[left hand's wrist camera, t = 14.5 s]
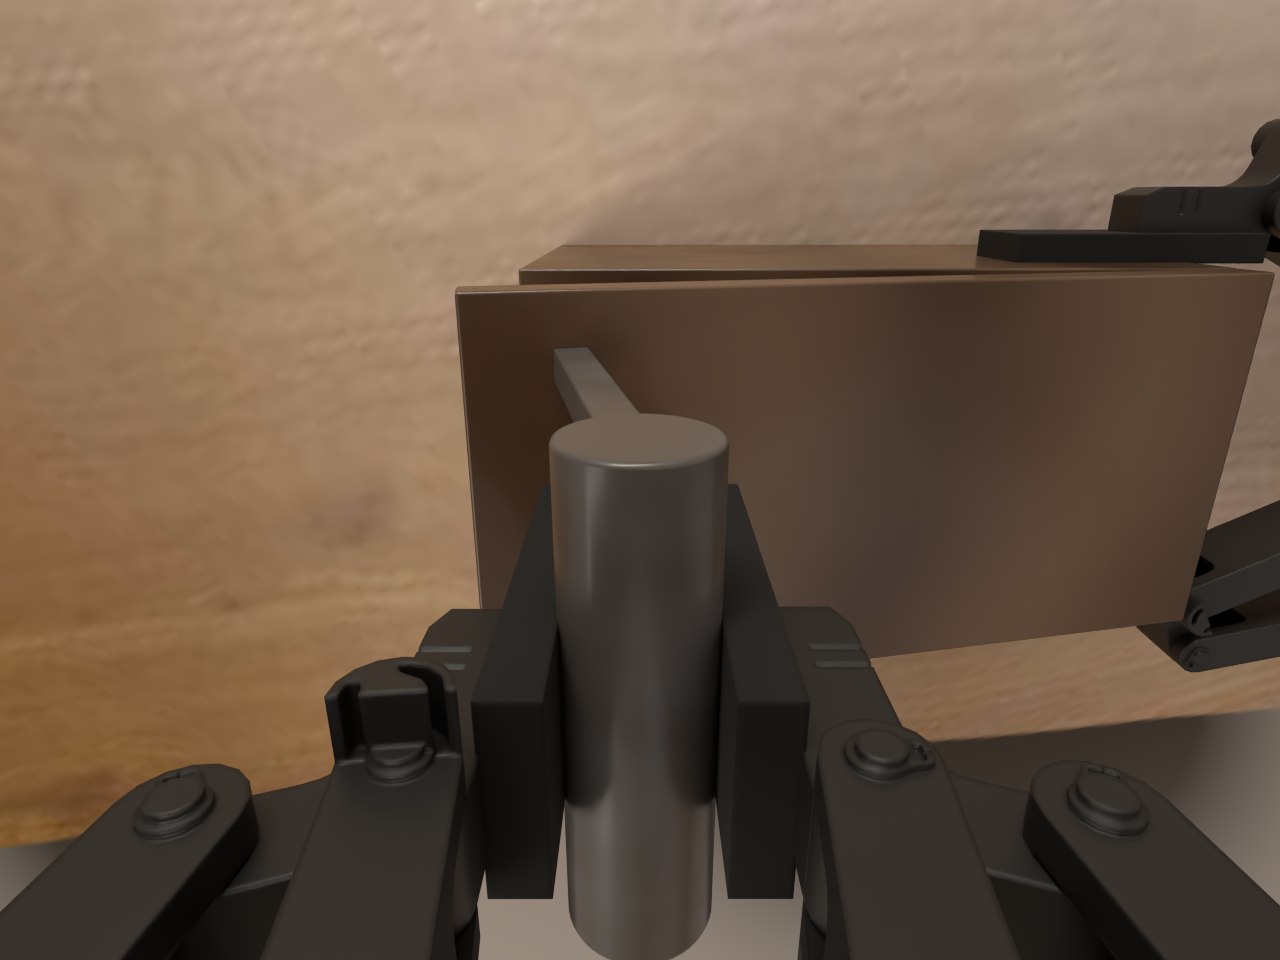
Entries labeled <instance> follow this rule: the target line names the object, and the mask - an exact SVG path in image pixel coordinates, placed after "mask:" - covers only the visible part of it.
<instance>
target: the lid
mask: <svg viewBox="0 0 1280 960" xmlns="http://www.w3.org/2000/svg"><path fill="white" fill-rule="evenodd" d="M1273 279H1274V273H1272V272H1265V271H1254V270H1243V269H1207V270H1164V271H1120V272H1076V273H1032V274H988V275H944V276H900V277H856V278H812V279H768V280H725V281H681V282H637V283H593V284H549V285H505V286H461V287H457V288H456V291H455V303H456V316H457V328H458V341H459V353H460V365H461V378H462V390H463V403H464V415H465V427H466V440H467V452H468V465H469V477H470V490H471V502H472V514H473V527H474V539H475V552H476V564H477V576H478V589H479V601H480V609H502V606H503V603H504V600H505V597H506V594H507V591H508V588H509V585H510V582H511V579H512V576H513V573H514V570H515V567H516V564H517V561H518V558H519V555H520V552H521V549H522V546H523V543H524V540H525V537H526V534H527V531H528V528H529V525H530V522H531V519H532V516H533V513H534V510H535V507H536V504H537V501H538V498H539V495H540V492H541V489H542V486H543V484H551V506H552V529H553V553H554V576H555V599H556V618H557V622H558V637H559V661H560V685H561V709H562V733H563V757H564V782H565V804H564V807H565V830H566V853H567V876H568V900H569V912H570V917H571V920H572V923H573V925H574V927H575V929H576V931H577V933H578V934H579V936H580V937H581V938H582V939H583V941H584V942H585V943H586V944H587V945H588V946H589V947H590V948H591V949H592V950H594V951H595V952H597V953H598V954H600V955H602V956H603V957H605V958H607V959H610V960H670V959H673V958H675V957H677V956H678V955H680V954H682V953H683V952H685V951H686V950H687V949H689V948H690V947H691V946H692V945H693V944H694V943H695V942H696V941H697V940H698V938H699V937H700V936H701V934H702V933H703V931H704V929H705V927H706V926H707V923H708V920H709V918H710V913H711V901H712V875H713V850H714V824H715V799H716V797H715V789H716V764H717V739H718V714H719V689H720V664H721V638H722V618H723V594H724V568H725V542H726V517H727V491H728V484H738V486H739V489H740V492H741V495H742V498H743V501H744V504H745V507H746V510H747V513H748V516H749V519H750V522H751V525H752V528H753V531H754V534H755V537H756V540H757V543H758V546H759V549H760V552H761V555H762V558H763V561H764V564H765V567H766V570H767V573H768V576H769V579H770V582H771V585H772V588H773V591H774V594H775V597H776V600H777V603H778V606H779V607H831V608H832V609H833V610H834V611H836V612H837V613H838V614H840V615H841V616H842V617H843V618H845V619H846V620H847V621H848V622H850V623H851V624H852V625H853V627H854V629H855V631H856V633H857V635H858V637H859V639H860V641H861V643H862V648H863V650H865V652H866V654H867V656H868V658H869V659H870V658H878V657H886V656H894V655H902V654H910V653H918V652H927V651H935V650H943V649H951V648H959V647H967V646H975V645H984V644H992V643H1000V642H1008V641H1016V640H1024V639H1032V638H1041V637H1049V636H1057V635H1065V634H1073V633H1081V632H1089V631H1098V630H1106V629H1114V628H1122V627H1130V626H1138V625H1146V624H1155V623H1163V622H1171V621H1179V620H1182V619H1183V617H1184V613H1185V609H1186V605H1187V602H1188V598H1189V594H1190V590H1191V587H1192V583H1193V579H1194V575H1195V572H1196V568H1197V564H1198V560H1199V557H1200V553H1201V549H1202V545H1203V542H1204V538H1205V534H1206V530H1207V527H1208V523H1209V519H1210V515H1211V512H1212V508H1213V504H1214V500H1215V497H1216V493H1217V489H1218V485H1219V482H1220V478H1221V474H1222V470H1223V467H1224V463H1225V459H1226V455H1227V452H1228V448H1229V444H1230V440H1231V437H1232V433H1233V429H1234V425H1235V422H1236V418H1237V414H1238V410H1239V407H1240V403H1241V399H1242V395H1243V392H1244V388H1245V384H1246V380H1247V377H1248V373H1249V369H1250V365H1251V362H1252V358H1253V354H1254V350H1255V347H1256V343H1257V339H1258V335H1259V332H1260V328H1261V324H1262V320H1263V317H1264V313H1265V309H1266V305H1267V302H1268V298H1269V294H1270V290H1271V287H1272V283H1273Z"/></svg>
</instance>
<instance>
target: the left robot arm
mask: <svg viewBox="0 0 1280 960" xmlns="http://www.w3.org/2000/svg"><path fill="white" fill-rule="evenodd" d="M324 698H325V704H326V710H327V716H328V722H329V728H330V735H331V741H332V747H333V753H334V759H335V765H334V767H333V770H332V772H331V774H329V775H327V776H325V777H323V778H321V779H317V780H314V781H311V782H307V783H304V784H301V785H296V786H292V787H288V788H283V789H279V790H274V791H270V792H265V793H261V794H256V795H252V791H251V786H250V782H249V780H248V779H247V778H246V777H245V776H244V775H243V774H242V772H241V771H240V770H239V769H236V768H232V767H229V766H225V765H222V764H200V765H191V766H187V767H184V768H180V769H176V770H172V771H168V772H165V773H163V774H161V775H159V776H157V777H155V778H153V779H150V780H148V781H146V782H144V783H142V784H140V785H138V786H137V787H135V788H134V789H133V790H131V791H130V792H129V793H127V794H126V795H125V796H123V797H122V798H121V799H119V800H118V801H117V802H115V803H114V804H113V805H112V806H111V807H110V808H109V809H108V810H107V811H106V812H105V813H104V814H103V815H101V816H100V817H99V818H98V819H97V820H96V821H95V822H94V823H93V824H92V825H91V826H90V827H89V828H88V829H87V830H86V831H85V832H84V833H83V834H82V835H80V836H79V837H78V838H77V839H76V840H75V841H74V842H73V843H72V844H71V845H70V846H69V847H68V848H67V849H66V850H65V851H64V852H63V853H62V854H61V855H60V856H58V857H57V858H56V859H55V860H54V861H53V862H52V863H51V864H50V865H49V866H48V867H47V868H46V869H45V870H44V871H43V872H42V873H41V874H40V875H38V876H37V877H36V878H35V879H34V880H33V881H32V882H31V883H30V884H29V885H28V886H27V887H26V888H25V889H24V890H23V891H22V892H21V893H20V894H19V895H17V896H16V897H15V898H14V899H13V900H12V901H11V902H10V903H9V904H8V905H7V906H6V907H5V908H4V909H3V910H2V911H1V912H0V960H478V955H479V944H480V929H479V918H478V908H477V902H478V898H479V893H480V889H481V885H482V880H483V876H484V871H485V873H486V884H487V895H488V899H553V893H554V884H555V876H556V868H557V860H558V852H559V844H560V836H561V828H562V820H563V812H564V804H565V782H564V757H563V733H562V709H561V685H560V661H559V637H558V622H557V618H556V599H555V576H554V553H553V529H552V506H551V484H543V486H542V489H541V492H540V495H539V498H538V501H537V504H536V507H535V510H534V513H533V516H532V519H531V522H530V525H529V528H528V531H527V534H526V537H525V540H524V543H523V546H522V549H521V552H520V555H519V558H518V561H517V564H516V567H515V570H514V573H513V576H512V579H511V582H510V585H509V588H508V591H507V594H506V597H505V600H504V603H503V606H502V609H451V610H450V611H449V612H447V613H446V614H445V615H444V616H442V617H441V618H440V619H438V620H437V621H436V622H435V623H433V624H432V625H431V626H430V627H429V628H428V630H427V632H426V634H425V636H424V638H423V640H422V642H421V644H420V646H419V652H417V653H416V655H415V657H398V658H392V659H386V660H379V661H376V662H373V663H370V664H368V665H365V666H362V667H360V668H357V669H354V670H353V671H351V672H350V673H348V674H347V675H345V676H344V677H342V678H341V679H339V680H338V681H336V682H335V683H334V685H333V686H332V687H331V689H330V690H329V691H328V692H327V694H326V695H325V696H324ZM715 797H716V805H717V813H718V821H719V829H720V837H721V845H722V853H723V861H724V869H725V877H726V885H727V894H728V899H793V894H794V882H795V871H796V868H797V872H798V877H799V881H800V885H801V890H802V894H803V908H802V918H801V929H800V940H799V950H798V960H1280V905H1279V904H1278V903H1276V902H1275V901H1274V900H1273V899H1272V898H1271V897H1270V896H1269V895H1268V894H1267V893H1266V892H1265V891H1264V890H1263V889H1262V888H1261V887H1260V886H1258V885H1257V884H1256V883H1255V882H1254V881H1253V880H1252V879H1251V878H1250V877H1249V876H1248V875H1247V874H1246V873H1245V872H1244V871H1243V870H1241V869H1240V868H1239V867H1238V866H1237V865H1236V864H1235V863H1234V862H1233V861H1232V860H1231V859H1230V858H1229V857H1228V856H1227V855H1226V854H1225V853H1224V852H1222V851H1221V850H1220V849H1219V848H1218V847H1217V846H1216V845H1215V844H1214V843H1213V842H1212V841H1211V840H1210V839H1209V838H1208V837H1207V836H1205V835H1204V834H1203V833H1202V832H1201V831H1200V830H1199V829H1198V828H1197V827H1196V826H1195V825H1194V824H1193V823H1192V822H1191V821H1190V820H1189V819H1188V818H1186V817H1185V816H1184V815H1183V814H1182V813H1181V812H1180V811H1179V810H1178V809H1177V808H1176V807H1175V806H1174V805H1173V804H1172V803H1171V802H1170V801H1168V800H1167V799H1166V798H1165V797H1163V796H1162V795H1161V794H1159V793H1158V792H1157V791H1155V790H1154V789H1153V788H1151V787H1150V786H1149V785H1147V784H1146V783H1145V782H1143V781H1141V780H1139V779H1136V778H1134V777H1132V776H1130V775H1128V774H1126V773H1124V772H1122V771H1120V770H1117V769H1115V768H1111V767H1107V766H1103V765H1100V764H1096V763H1092V762H1088V761H1065V760H1062V761H1059V762H1055V763H1052V764H1048V765H1045V766H1043V767H1042V768H1041V769H1040V770H1039V771H1038V772H1037V773H1036V774H1035V775H1034V776H1033V777H1032V782H1031V786H1030V791H1029V792H1026V791H1022V790H1017V789H1013V788H1008V787H1004V786H999V785H995V784H990V783H986V782H981V781H978V780H975V779H971V778H968V777H965V776H961V775H959V774H957V773H954V772H952V771H950V770H948V769H947V766H946V763H945V761H944V760H943V758H942V757H941V755H940V754H939V752H938V751H937V749H936V748H935V746H934V745H932V744H931V743H930V742H928V741H927V740H926V739H924V738H923V737H922V736H920V735H919V734H918V733H916V732H914V731H912V730H910V729H907V728H905V727H902V725H901V723H900V721H899V719H898V717H897V715H896V713H895V711H894V709H893V707H892V704H891V702H890V700H889V698H888V696H887V694H886V692H885V690H884V688H883V686H882V684H881V682H880V680H879V678H878V676H877V674H876V672H875V670H874V668H873V667H871V662H870V660H869V658H868V656H867V654H866V652H865V650H863V648H862V643H861V641H860V639H859V637H858V635H857V633H856V631H855V629H854V627H853V625H852V624H851V623H850V622H848V621H847V620H846V619H845V618H843V617H842V616H841V615H840V614H838V613H837V612H836V611H834V610H833V609H832V608H831V607H779V606H778V603H777V600H776V597H775V594H774V591H773V588H772V585H771V582H770V579H769V576H768V573H767V570H766V567H765V564H764V561H763V558H762V555H761V552H760V549H759V546H758V543H757V540H756V537H755V534H754V531H753V528H752V525H751V522H750V519H749V516H748V513H747V510H746V507H745V504H744V501H743V498H742V495H741V492H740V489H739V486H738V484H728V491H727V517H726V542H725V568H724V594H723V618H722V638H721V664H720V689H719V714H718V739H717V764H716V789H715Z"/></svg>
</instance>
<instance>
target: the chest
mask: <svg viewBox="0 0 1280 960" xmlns="http://www.w3.org/2000/svg"><path fill="white" fill-rule="evenodd" d="M977 248H978V245H562V246H560V247H558V248H556V249H555V250H553V251H551V252H549V253H548V254H546V255H544V256H542V257H541V258H539V259H537V260H535V261H534V262H532V263H530V264H528V265H527V266H525V267H523V268H521V269H520V270H519V285H549V284H593V283H637V282H681V281H725V280H768V279H812V278H856V277H900V276H944V275H988V274H1032V273H1076V272H1120V271H1164V270H1207V269H1235V268H1229V267H1221V266H1213V265H1204V264H1196V263H1188V262H1132V263H1016V262H1011V261H1005V260H999V259H994V258H988V257H982V256H976V255H977Z"/></svg>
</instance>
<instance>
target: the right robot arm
mask: <svg viewBox="0 0 1280 960" xmlns="http://www.w3.org/2000/svg"><path fill="white" fill-rule="evenodd" d="M1251 151H1252V156H1253V157H1254V158H1253V160H1252V162H1251V164H1250V165H1249V167H1248V168H1247V170H1246V171H1245V173H1244V174H1243V175H1242V176H1241V177H1240V178H1239V179H1238V180H1236V181H1235V182H1233V183H1231V184H1229V185H1226V186H1224V187H1136V188H1131V189H1129V190H1126V191H1124V192H1121V193H1119V194H1116V195H1114V200H1113V205H1112V211H1111V216H1110V221H1109V226H1108V230H980V234H979V241H978V248H977V255H976V256H982V257H988V258H994V259H999V260H1005V261H1011V262H1016V263H1132V262H1188V263H1263V261H1264V257H1265V258H1267V259H1268V260H1270V261H1272V262H1273V263H1275V264H1276V265H1278V266H1280V119H1275V120H1273V121H1270V122H1267V123H1266V124H1264V125H1263V126H1262V127H1261V128H1260V129H1259V130H1258V131H1257V133H1256V134H1255V136H1254V137H1253V141H1252V145H1251ZM1136 627H1137V628H1138V629H1139V630H1140V631H1141V632H1142V633H1143V634H1144V635H1145V636H1147V637H1148V638H1149V639H1150V640H1151V641H1152V642H1153V643H1154V644H1156V645H1157V646H1158V647H1159V648H1160V649H1161V650H1162V651H1164V652H1165V653H1166V654H1167V655H1168V656H1169V657H1170V658H1172V659H1173V660H1174V661H1175V662H1176V663H1178V664H1179V665H1180V666H1181V667H1182V668H1183V669H1184V670H1186V671H1189V672H1202V671H1207V670H1212V669H1217V668H1222V667H1228V666H1233V665H1238V664H1243V663H1249V662H1254V661H1259V660H1264V659H1269V658H1275V657H1280V500H1279V501H1277V502H1274V503H1272V504H1269V505H1267V506H1265V507H1262V508H1260V509H1257V510H1255V511H1253V512H1250V513H1248V514H1245V515H1243V516H1241V517H1238V518H1236V519H1233V520H1231V521H1229V522H1226V523H1224V524H1221V525H1219V526H1217V527H1214V528H1212V529H1209V530H1207V531H1206V534H1205V538H1204V542H1203V545H1202V549H1201V553H1200V557H1199V560H1198V564H1197V568H1196V572H1195V575H1194V579H1193V583H1192V587H1191V590H1190V594H1189V598H1188V602H1187V605H1186V609H1185V613H1184V617H1183V619H1182V620H1179V621H1171V622H1163V623H1155V624H1146V625H1138V626H1136Z"/></svg>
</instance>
